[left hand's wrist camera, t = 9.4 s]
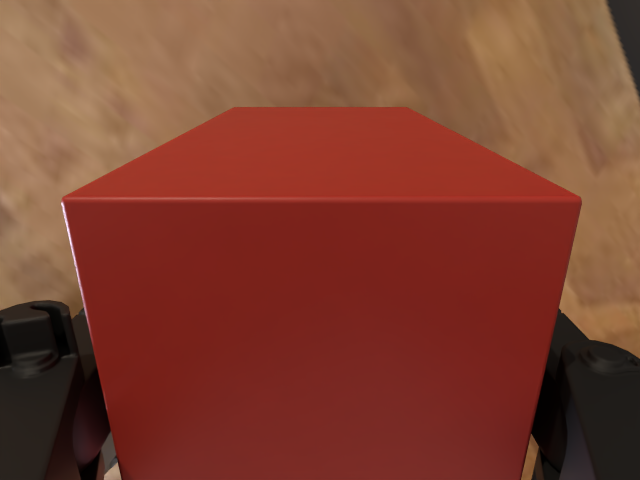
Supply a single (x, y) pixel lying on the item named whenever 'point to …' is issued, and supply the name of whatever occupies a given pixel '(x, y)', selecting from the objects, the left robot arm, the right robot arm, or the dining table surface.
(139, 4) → the dining table surface
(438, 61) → the dining table surface
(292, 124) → the block
